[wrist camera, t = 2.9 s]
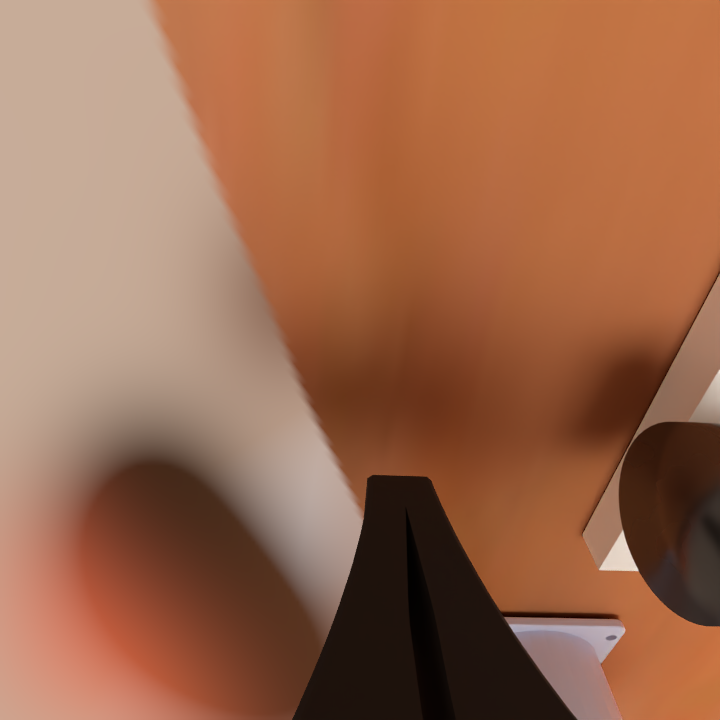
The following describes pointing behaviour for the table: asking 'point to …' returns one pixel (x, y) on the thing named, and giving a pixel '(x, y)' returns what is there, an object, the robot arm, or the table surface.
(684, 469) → the shaft
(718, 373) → the shaft stand
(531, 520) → the table surface
